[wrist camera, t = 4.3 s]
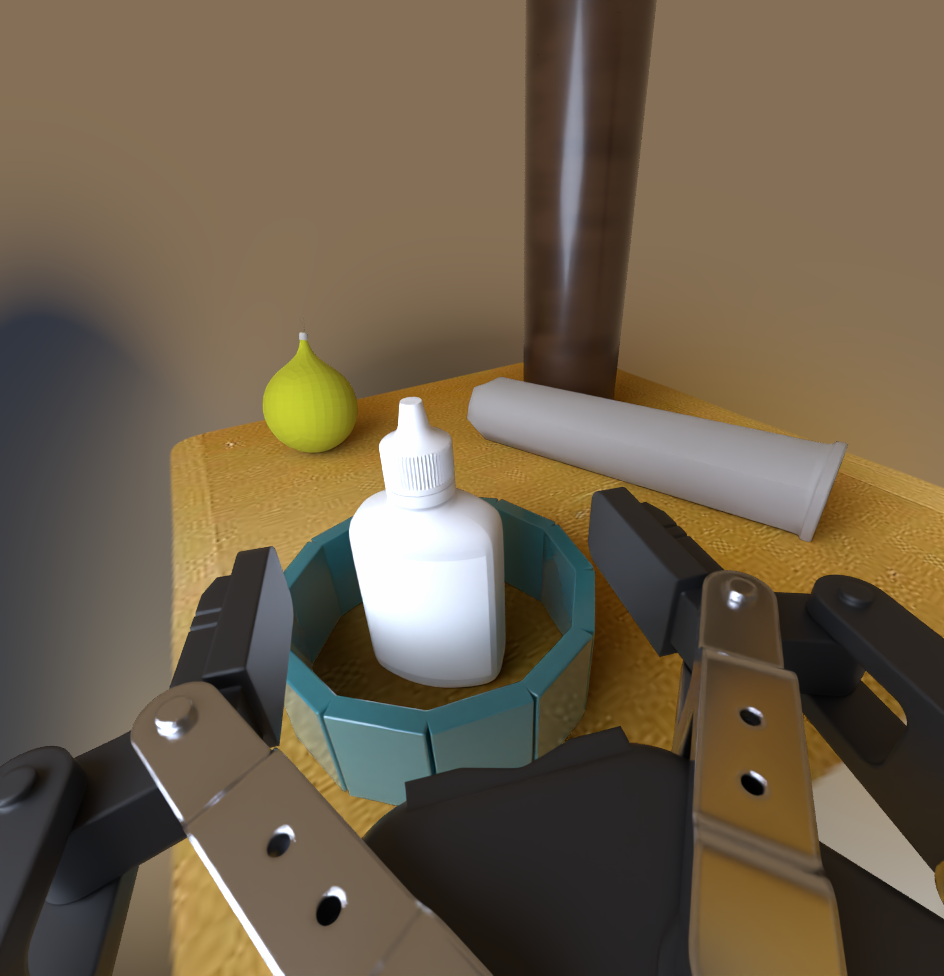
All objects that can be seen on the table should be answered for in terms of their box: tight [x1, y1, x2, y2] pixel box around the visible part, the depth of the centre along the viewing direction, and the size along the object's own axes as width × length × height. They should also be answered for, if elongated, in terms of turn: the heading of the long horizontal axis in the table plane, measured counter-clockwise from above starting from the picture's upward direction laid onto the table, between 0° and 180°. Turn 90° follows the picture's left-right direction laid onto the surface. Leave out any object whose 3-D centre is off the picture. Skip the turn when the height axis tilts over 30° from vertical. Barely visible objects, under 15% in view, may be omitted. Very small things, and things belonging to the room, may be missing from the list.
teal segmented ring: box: [283, 497, 595, 806], centre depth 21 cm, size 13×13×4 cm
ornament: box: [263, 333, 358, 453], centre depth 38 cm, size 7×7×10 cm
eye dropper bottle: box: [349, 397, 506, 688], centre depth 19 cm, size 4×6×12 cm
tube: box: [467, 377, 848, 542], centre depth 34 cm, size 5×5×25 cm
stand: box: [524, 0, 656, 400], centre depth 37 cm, size 8×8×30 cm
